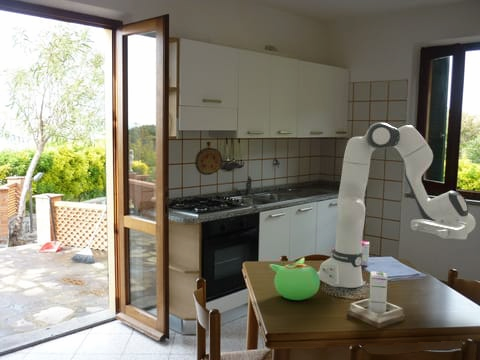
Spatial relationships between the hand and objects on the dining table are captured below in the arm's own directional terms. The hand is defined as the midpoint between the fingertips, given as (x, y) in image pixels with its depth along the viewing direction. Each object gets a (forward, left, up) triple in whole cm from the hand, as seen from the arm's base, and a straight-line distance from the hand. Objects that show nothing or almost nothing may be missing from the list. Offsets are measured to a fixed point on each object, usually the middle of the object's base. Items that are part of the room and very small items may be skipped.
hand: (425, 230), depth 173 cm
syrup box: (-3, -22, -29) cm, 36 cm away
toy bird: (-32, -35, -30) cm, 56 cm away
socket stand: (-3, -22, -30) cm, 37 cm away
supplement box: (-49, +25, -30) cm, 63 cm away
